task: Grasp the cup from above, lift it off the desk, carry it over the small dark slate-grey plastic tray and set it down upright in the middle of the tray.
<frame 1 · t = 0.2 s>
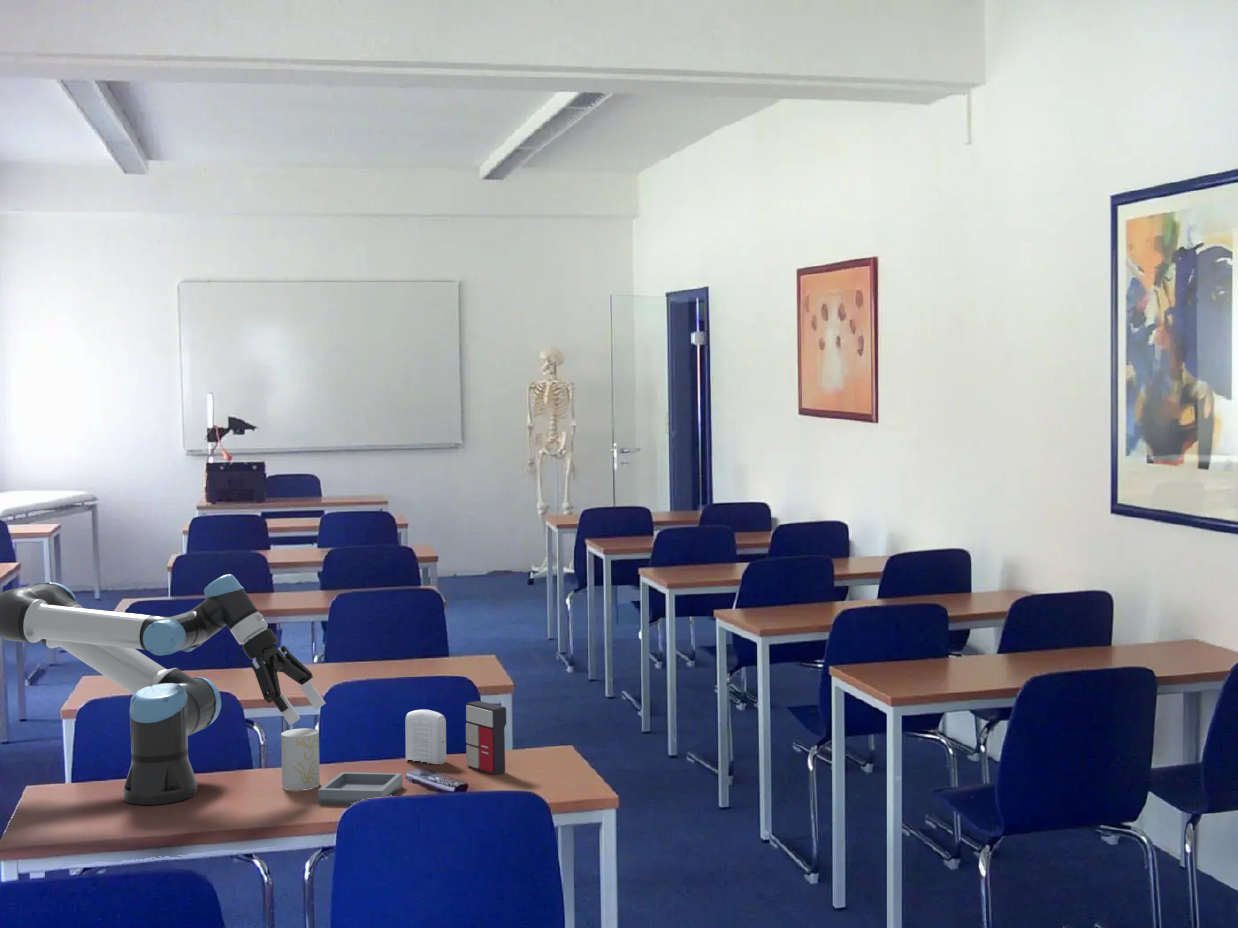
hand: (308, 714, 292), 15 cm above the table, tool tilted 35°, fingers open, 13 cm apart
photo printer: (426, 762, 309), on the table
tray: (361, 794, 281), on the table
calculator: (485, 770, 301), on the table
cup: (301, 786, 289), on the table
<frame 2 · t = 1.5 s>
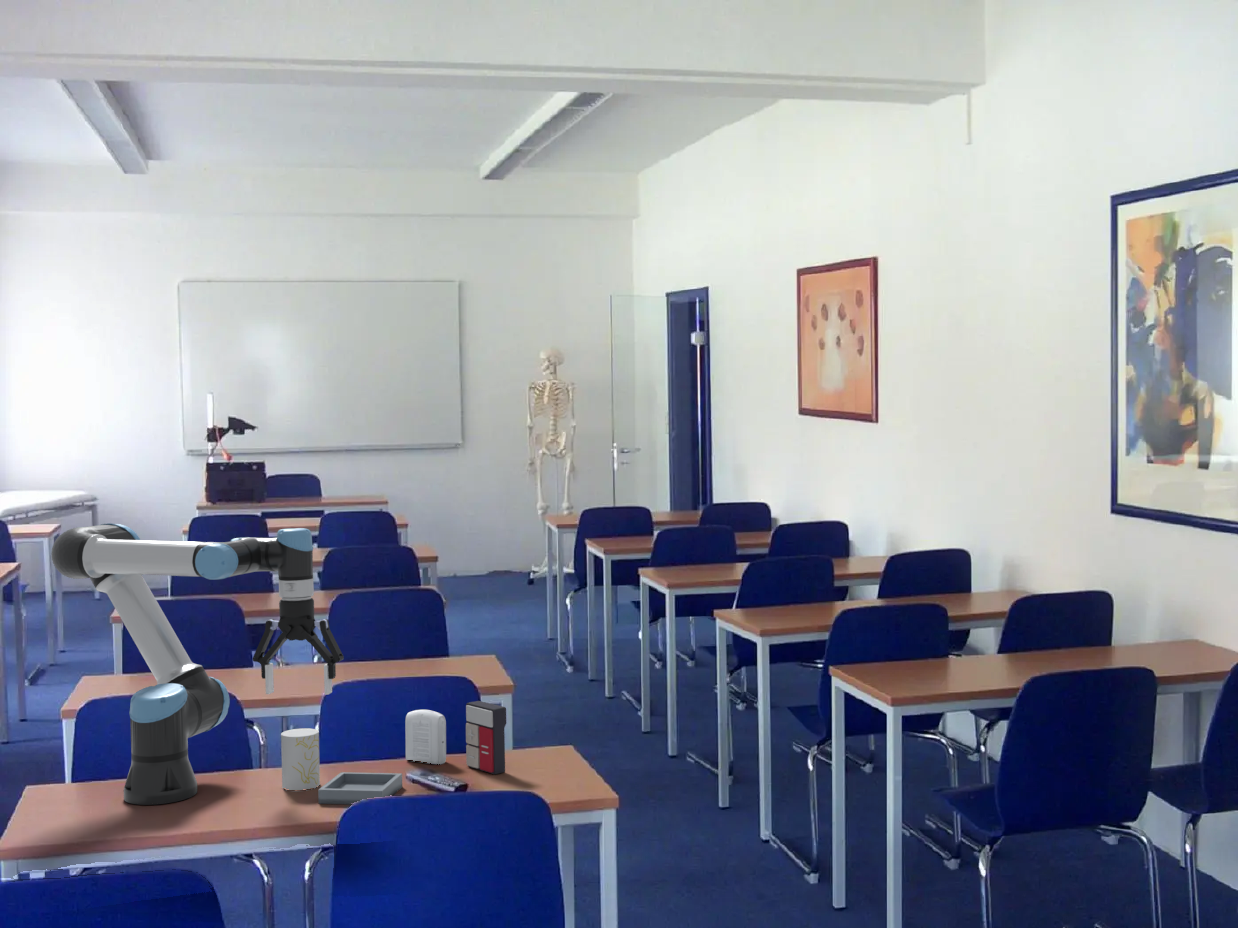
hand: (299, 693, 289), 21 cm above the table, tool pointing down, fingers open, 13 cm apart
nothing on the table moved.
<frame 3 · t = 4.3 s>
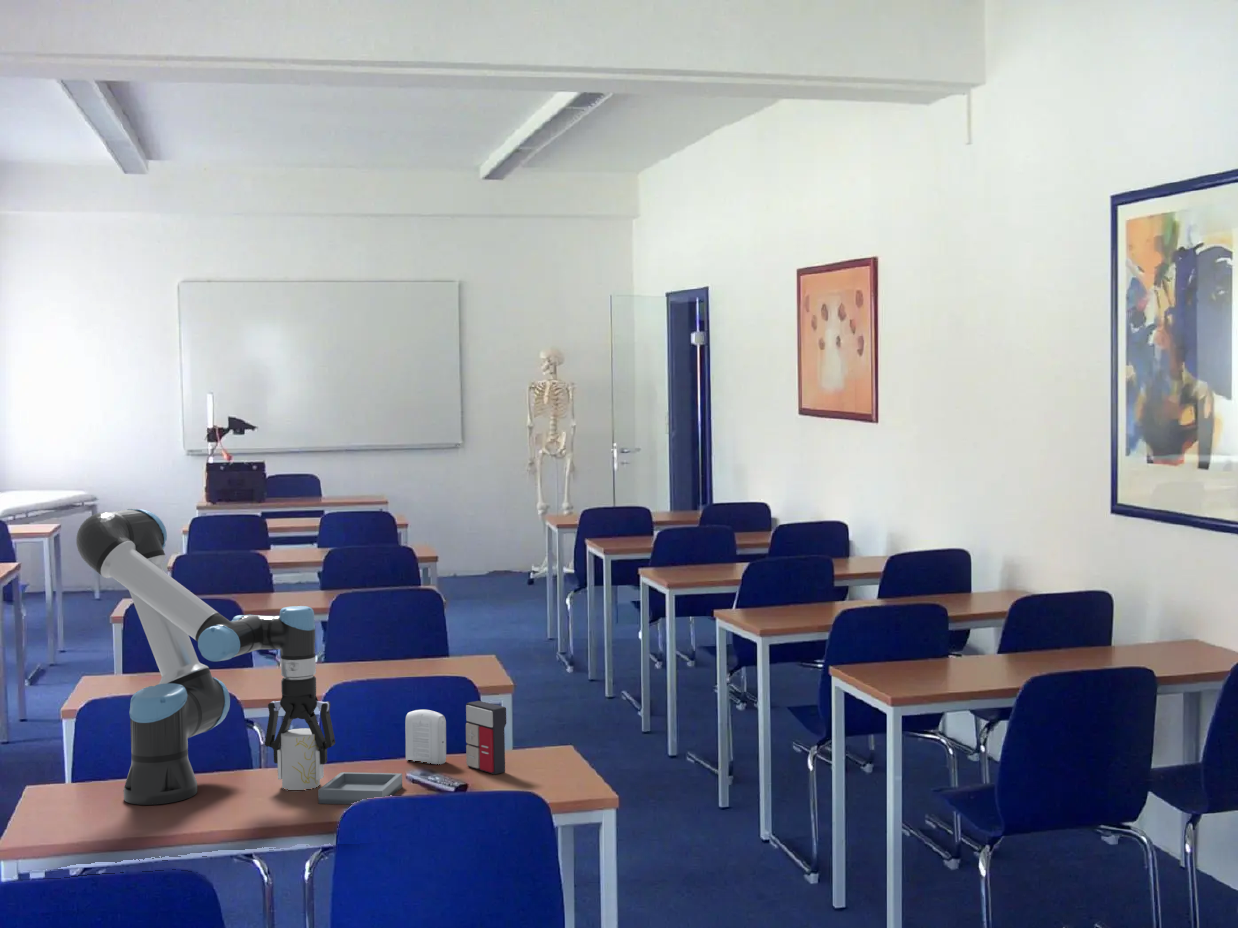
hand: (300, 777, 289), 2 cm above the table, tool pointing down, fingers closed on cup, 8 cm apart
cup: (301, 786, 289), on the table, touching gripper
everything else where it was.
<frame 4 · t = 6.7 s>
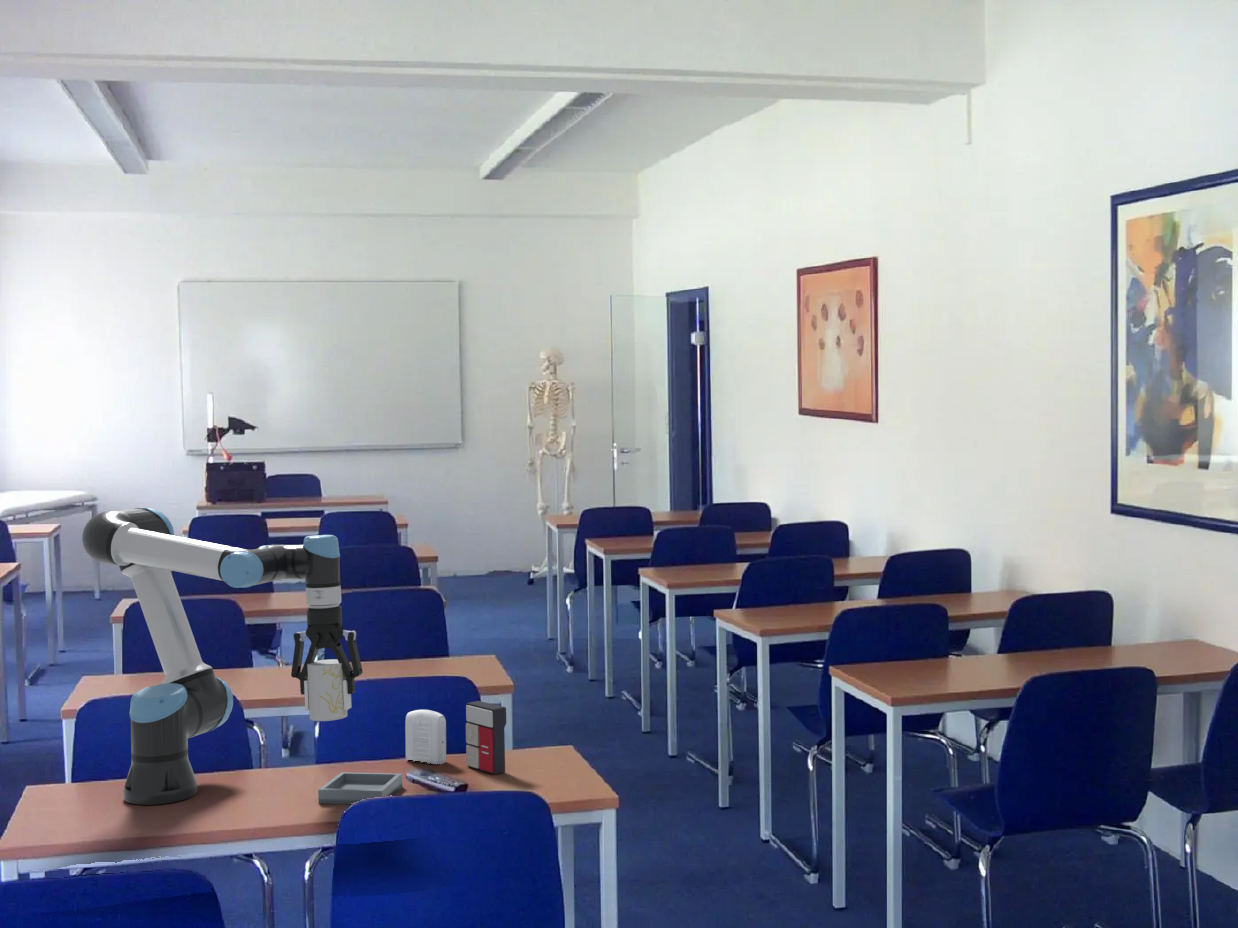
hand: (328, 708, 285), 18 cm above the table, tool pointing down, fingers closed on cup, 8 cm apart
cup: (328, 717, 285), point 16 cm above the table, touching gripper
everything else where it was.
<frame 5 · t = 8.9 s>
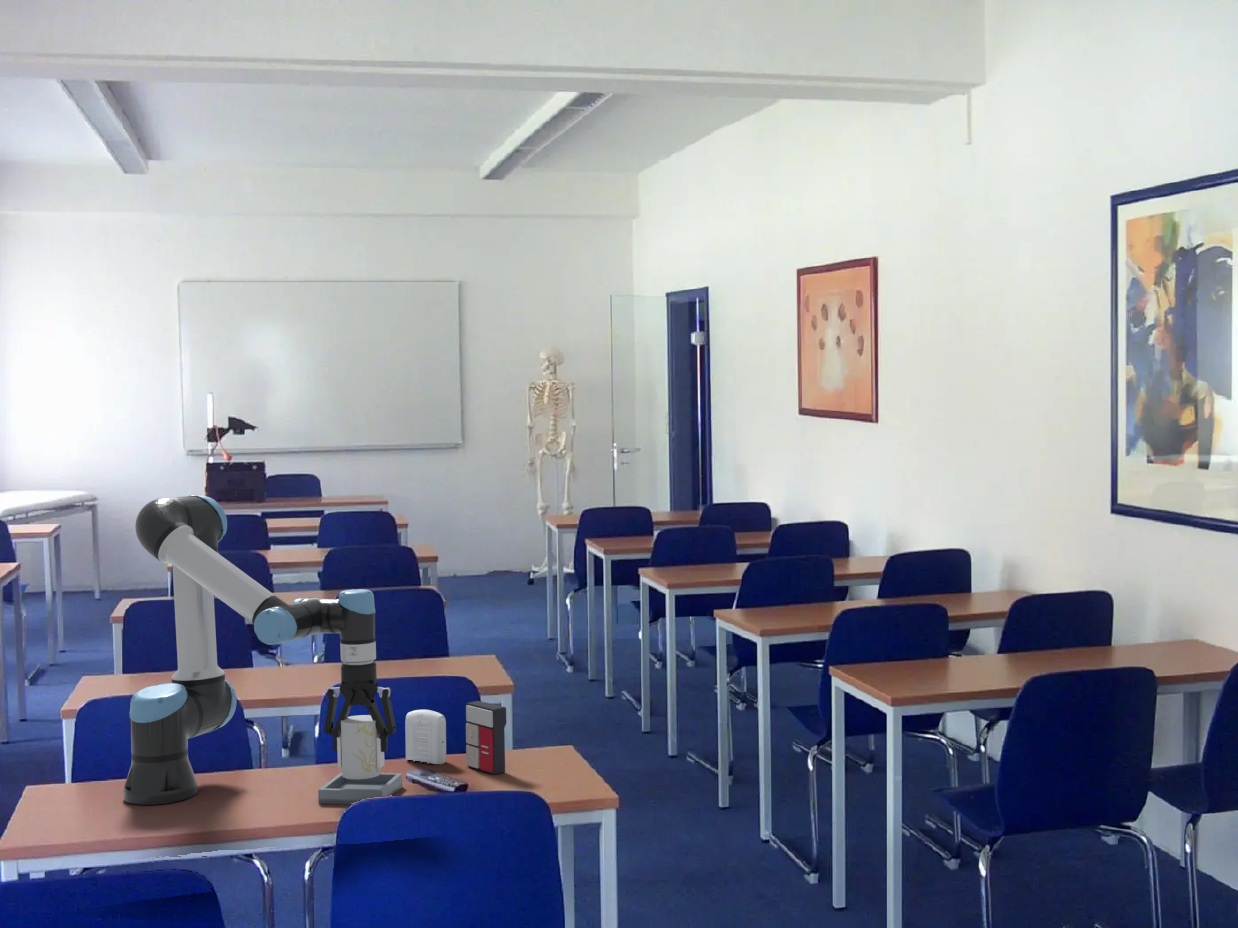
hand: (361, 766, 281), 6 cm above the table, tool pointing down, fingers closed on cup, 8 cm apart
cup: (361, 775, 281), point 4 cm above the table, touching gripper
everything else where it was.
when the fingers open (5 cm above the table, at t = 9.6 s): cup drops 2 cm, resting on tray.
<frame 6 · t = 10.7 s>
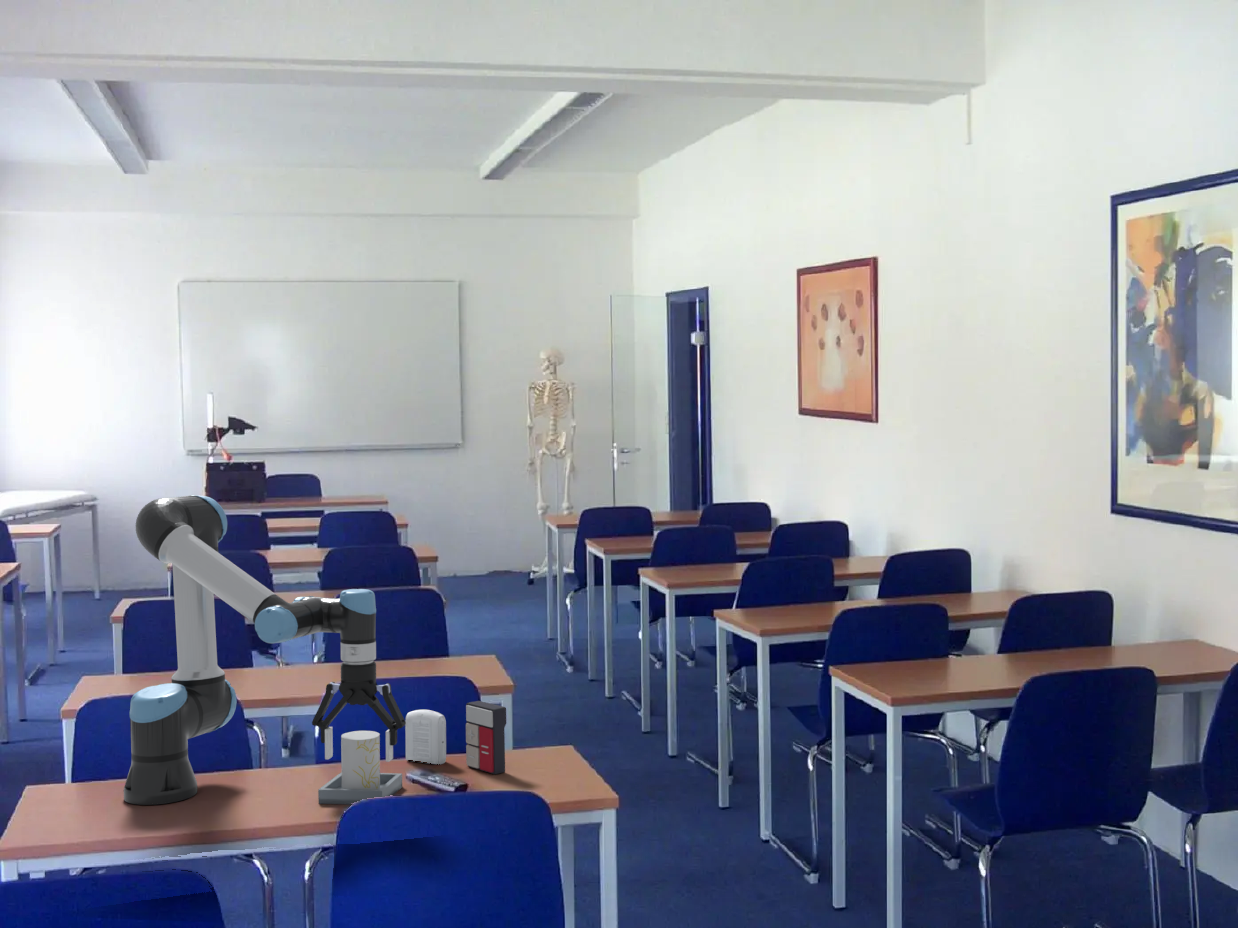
hand: (359, 759, 281), 8 cm above the table, tool pointing down, fingers open, 13 cm apart
cup: (360, 790, 281), point 1 cm above the table, touching tray
everything else where it was.
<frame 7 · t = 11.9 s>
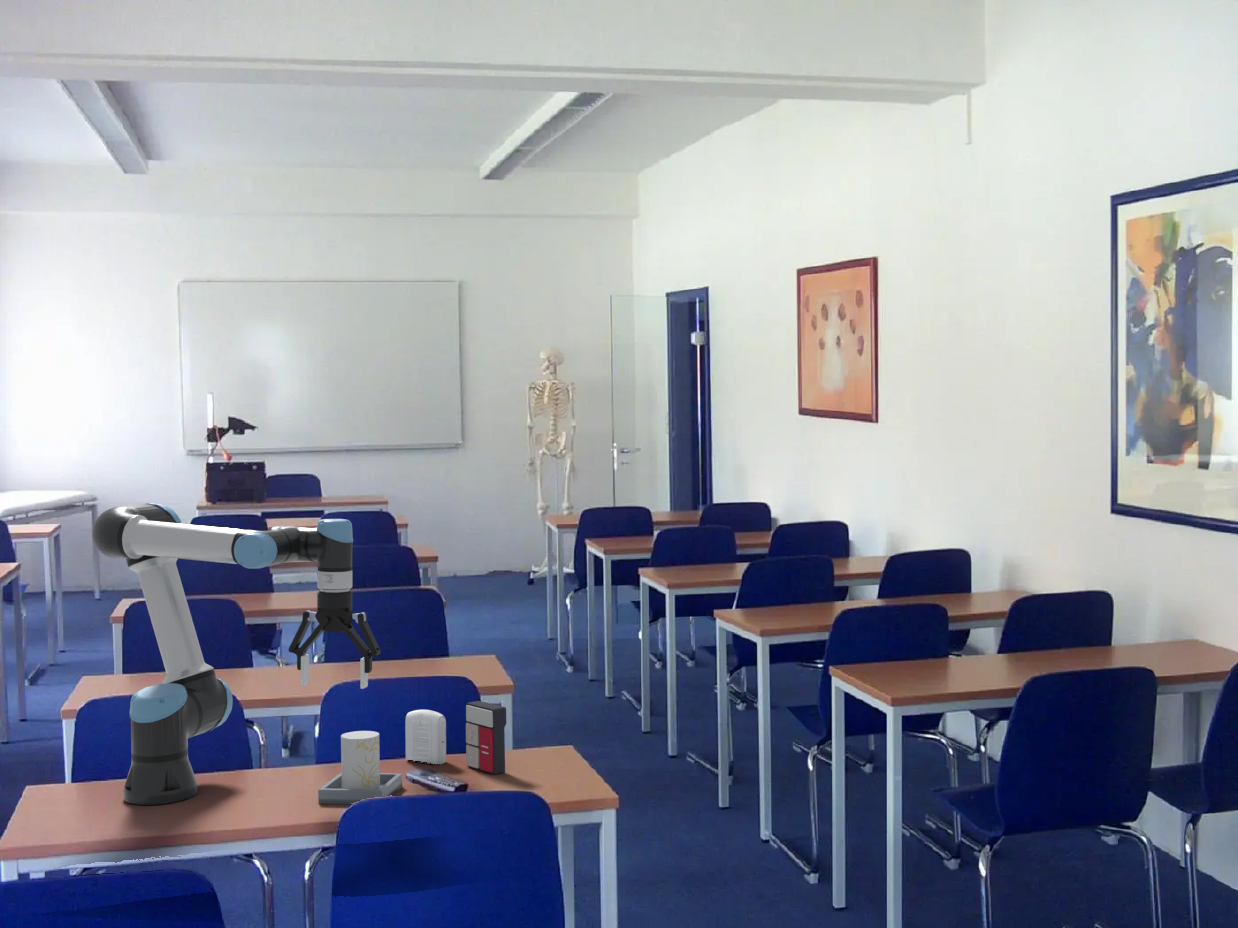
hand: (334, 686, 285), 23 cm above the table, tool pointing down, fingers open, 13 cm apart
nothing on the table moved.
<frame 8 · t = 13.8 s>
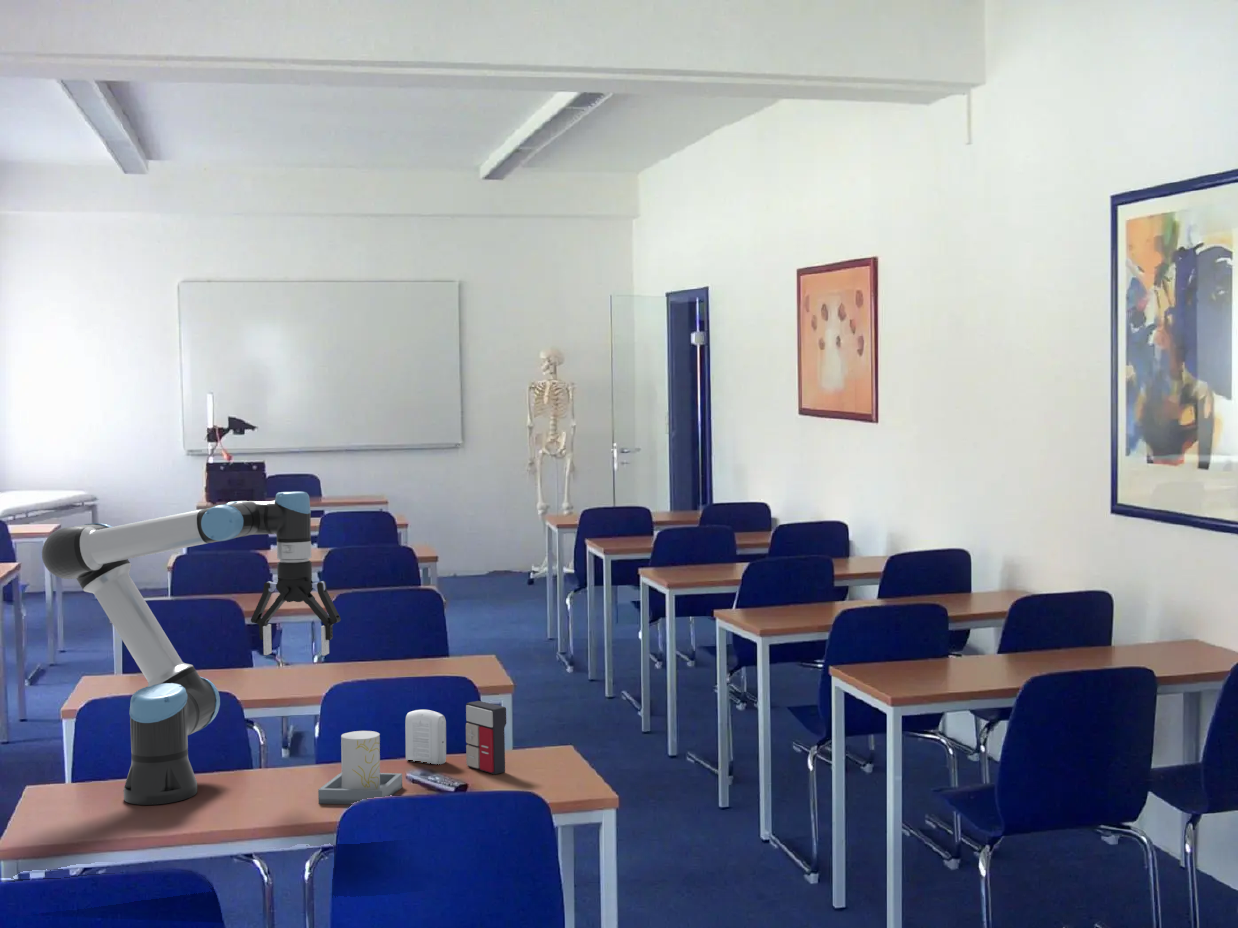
hand: (296, 654, 293), 29 cm above the table, tool pointing down, fingers open, 13 cm apart
nothing on the table moved.
at the end: cup 0.1 cm off-centre on the tray, point 0.9 cm above the tray's base; cup tilted 1°; the gripper is holding nothing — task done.
